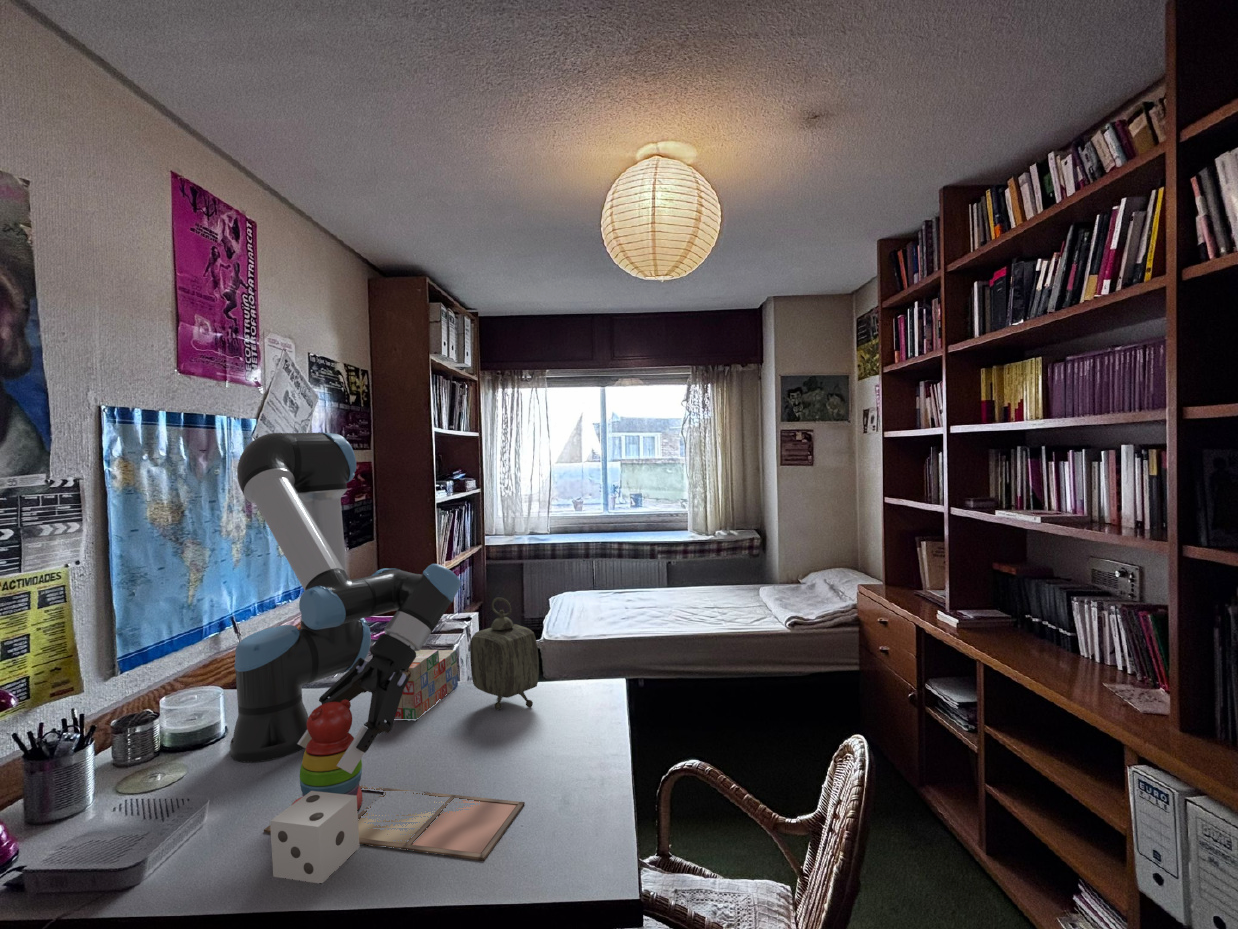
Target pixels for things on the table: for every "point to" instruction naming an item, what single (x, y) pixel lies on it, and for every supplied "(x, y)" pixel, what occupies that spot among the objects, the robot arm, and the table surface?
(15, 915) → the table surface
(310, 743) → the stacking bear
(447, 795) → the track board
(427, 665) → the stack of blocks
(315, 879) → the die
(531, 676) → the tabletop clock
